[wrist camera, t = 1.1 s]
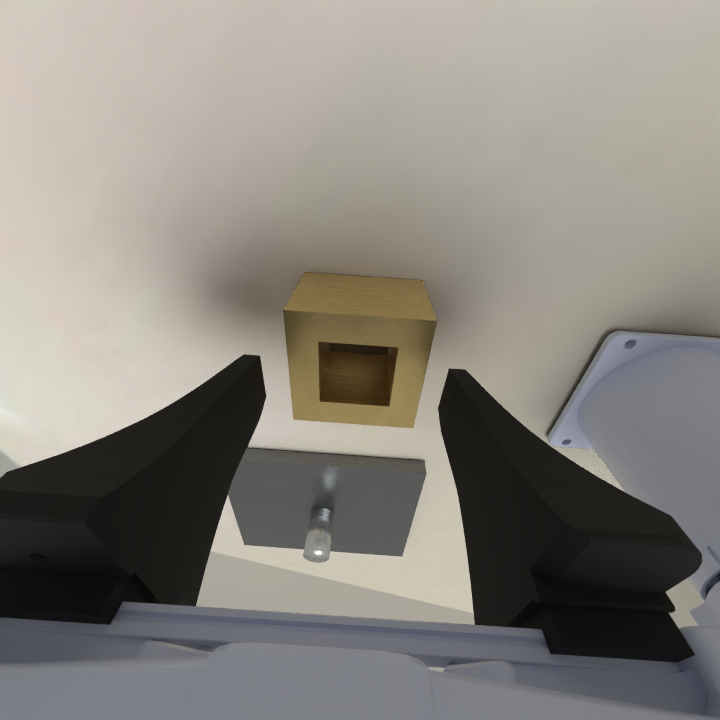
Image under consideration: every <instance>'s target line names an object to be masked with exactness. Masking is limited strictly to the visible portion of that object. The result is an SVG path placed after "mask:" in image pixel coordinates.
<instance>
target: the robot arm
mask: <svg viewBox="0 0 720 720" xmlns="http://www.w3.org/2000/svg"><path fill="white" fill-rule="evenodd" d="M629 340H630V341H629ZM627 341H629V342H628V343H627V344H625V343H626V342H627ZM265 399H266V392H265V386H264V379H263V373H262V366H261V360H260V356H256V355H243V356H241V357H240V358H238V359H237V360H235V361H234V362H233V363H231V364H230V365H228V366H227V367H226V368H224V369H223V370H222V371H220V372H219V373H217V374H216V375H215V376H213V377H212V378H210V379H209V380H208V381H206V382H205V383H203V384H202V385H200V386H199V387H197V388H196V389H194V390H193V391H191V392H190V393H188V394H187V395H185V396H183V397H182V398H180V399H179V400H177V401H176V402H174V403H172V404H170V405H169V406H167V407H165V408H164V409H162V410H160V411H158V412H156V413H154V414H152V415H151V416H149V417H147V418H145V419H143V420H141V421H139V422H136V423H134V424H132V425H130V426H128V427H126V428H124V429H121V430H119V431H117V432H115V433H113V434H111V435H108V436H106V437H104V438H101V439H99V440H96V441H94V442H91V443H89V444H86V445H84V446H81V447H78V448H76V449H73V450H71V451H68V452H65V453H62V454H60V455H57V456H54V457H51V458H48V459H45V460H42V461H39V462H36V463H33V464H30V465H27V466H24V467H21V468H18V469H15V470H11V471H8V472H7V473H5V474H4V476H2V477H1V478H0V720H720V338H714V337H700V336H686V335H672V334H658V333H643V332H629V331H616V332H613V333H611V334H610V335H608V336H607V338H606V339H605V340H604V342H603V344H602V345H601V347H600V349H599V351H598V352H597V354H596V356H595V357H594V359H593V361H592V362H591V364H590V366H589V367H588V369H587V371H586V373H585V374H584V376H583V378H582V379H581V381H580V383H579V384H578V386H577V388H576V389H575V391H574V393H573V395H572V396H571V398H570V400H569V401H568V403H567V405H566V406H565V408H564V410H563V411H562V413H561V415H560V417H559V418H558V420H557V422H556V423H555V425H554V427H553V428H552V430H551V432H550V433H549V435H548V437H547V439H548V442H549V443H550V445H552V446H558V447H572V448H586V449H594V450H595V451H596V452H597V454H598V455H599V457H600V458H601V459H602V461H603V462H604V463H605V465H606V466H607V468H608V469H609V470H610V472H611V473H612V474H613V476H614V477H615V479H616V480H617V481H618V483H619V484H620V486H621V487H622V488H623V490H624V491H625V492H626V493H625V492H623V491H622V490H620V489H618V488H616V487H614V486H613V485H611V484H609V483H607V482H606V481H604V480H602V479H600V478H599V477H597V476H595V475H594V474H592V473H590V472H589V471H587V470H585V469H584V468H582V467H581V466H579V465H577V464H576V463H574V462H573V461H571V460H570V459H568V458H567V457H565V456H564V455H562V454H561V453H559V452H558V451H556V450H555V449H554V448H552V447H551V446H549V445H548V444H547V443H545V442H544V441H543V440H541V439H540V438H539V437H537V436H536V435H535V434H533V433H532V432H531V431H530V430H528V429H527V428H526V427H525V426H524V425H522V424H521V423H520V422H519V421H518V420H517V419H516V418H514V417H513V416H512V415H511V414H510V413H509V412H508V411H507V410H505V409H504V408H503V407H502V406H501V405H500V404H499V403H498V402H497V401H496V400H495V399H494V398H493V397H492V396H491V395H490V394H489V393H488V392H487V391H486V390H485V389H484V388H483V387H482V386H481V385H480V384H479V383H478V382H477V381H476V380H475V379H474V378H473V377H472V376H471V375H470V374H469V373H468V372H467V371H466V370H463V369H449V371H448V374H447V378H446V382H445V385H444V389H443V392H442V396H441V400H440V403H439V407H438V411H439V419H440V426H441V432H442V436H443V440H444V444H445V448H446V451H447V455H448V459H449V462H450V466H451V469H452V473H453V477H454V480H455V484H456V488H457V493H458V497H459V503H460V509H461V515H462V521H463V528H464V535H465V542H466V549H467V556H468V564H469V572H470V581H471V590H472V600H473V610H474V619H475V625H468V624H453V623H437V622H423V621H408V620H407V621H406V620H393V619H377V618H363V617H348V616H333V615H332V616H331V615H318V614H302V613H287V612H272V611H256V610H242V609H227V608H212V607H197V606H196V603H197V599H198V595H199V591H200V587H201V583H202V580H203V575H204V572H205V567H206V564H207V561H208V557H209V554H210V550H211V547H212V543H213V540H214V536H215V533H216V529H217V526H218V523H219V520H220V517H221V513H222V510H223V507H224V504H225V501H226V498H227V495H228V492H229V489H230V486H231V483H232V480H233V478H234V475H235V473H236V470H237V468H238V466H239V464H240V461H241V459H242V457H243V455H244V453H245V450H246V448H247V446H248V444H249V442H250V440H251V437H252V435H253V433H254V431H255V428H256V426H257V424H258V422H259V419H260V416H261V413H262V410H263V406H264V403H265ZM687 578H688V580H689V581H690V582H691V584H692V585H693V586H694V588H695V589H696V591H697V592H698V593H699V595H700V596H701V597H702V599H703V600H705V601H704V602H703V603H702V604H701V605H699V606H698V607H695V608H693V609H691V610H690V614H691V615H692V617H693V618H694V620H695V621H696V623H697V624H698V626H688V627H682V628H678V627H677V625H676V623H675V622H674V620H673V619H672V617H671V616H670V614H669V613H673V612H674V611H675V606H674V604H673V603H672V601H671V600H670V598H669V597H668V595H667V594H666V591H668V590H669V589H671V588H672V587H674V586H676V585H677V584H679V583H680V582H682V581H684V580H685V579H687ZM209 652H211V653H210V654H209ZM428 667H442V668H445V669H444V672H441V671H435V670H430V669H428Z"/></svg>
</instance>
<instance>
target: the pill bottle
mask: <svg viewBox="0 0 720 720" xmlns="http://www.w3.org/2000/svg"><path fill="white" fill-rule="evenodd" d="M666 594H667V595H668V597H669V598H670V600H671V601H672V603H673V604H674V606H675V611H674V612H673V613H669V614H670V616H671V617H672V619H673V620H674V622H675V623H676V625H677V627H678V628H682V627H688V626H698V624H697V623H696V621H695V620H694V618H693V617H692V615H691V614H690V610H691V609H693V608H695V607H698V606H699V605H701V604H702V603H703V602H704V601H705V600H703V599H702V597H701V596H700V595H699V593H698V592H697V591H696V589H695V588H694V586H693V585H692V584H691V582H690V581H689V580H688V578H687V579H685V580H684V581H682V582H680V583H679V584H677V585H676V586H674V587H672V588H671V589H669V590H668V591H666Z"/></svg>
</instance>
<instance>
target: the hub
mask: <svg viewBox="0 0 720 720" xmlns="http://www.w3.org/2000/svg"><path fill="white" fill-rule="evenodd" d="M283 311H284V322H285V333H286V344H287V354H288V365H289V376H290V387H291V398H292V408H293V419H294V420H307V421H321V422H335V423H349V424H363V425H377V426H391V427H405V428H413V427H414V422H415V418H416V413H417V409H418V404H419V400H420V395H421V391H422V386H423V382H424V377H425V373H426V368H427V364H428V359H429V355H430V350H431V346H432V341H433V337H434V332H435V327H436V323H437V320H436V317H435V314H434V311H433V308H432V305H431V302H430V300H429V297H428V294H427V291H426V288H425V285H424V283H423V280H409V279H394V278H380V277H366V276H352V275H337V274H323V273H309V272H305V273H304V275H303V277H302V278H301V280H300V282H299V284H298V285H297V287H296V289H295V291H294V292H293V294H292V296H291V298H290V299H289V301H288V303H287V305H286V306H285V308H284V310H283ZM331 343H344V344H358V345H372V346H386V347H388V350H387V355H381V354H367V353H353V352H339V351H331Z"/></svg>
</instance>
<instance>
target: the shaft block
mask: <svg viewBox="0 0 720 720" xmlns="http://www.w3.org/2000/svg"><path fill="white" fill-rule="evenodd" d="M425 476H426V468H425V461H420V460H406V459H392V458H378V457H365V456H351V455H337V454H323V453H309V452H296V451H282V450H268V449H254V448H246V450H245V453H244V455H243V457H242V459H241V461H240V464H239V466H238V468H237V470H236V473H235V475H234V478H233V480H232V483H231V486H230V489H229V492H228V496H229V499H230V502H231V505H232V508H233V511H234V514H235V517H236V520H237V523H238V526H239V529H240V533H241V536H242V539H243V542H244V545H253V546H266V547H280V548H294V549H304V554H303V556H304V558H305V559H307V560H309V561H312V562H325V561H327V560H328V559H329V554H330V551H335V552H348V553H362V554H375V555H389V556H402V555H403V552H404V548H405V545H406V541H407V538H408V535H409V531H410V528H411V524H412V521H413V517H414V514H415V511H416V507H417V504H418V500H419V497H420V493H421V490H422V487H423V483H424V480H425Z"/></svg>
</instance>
